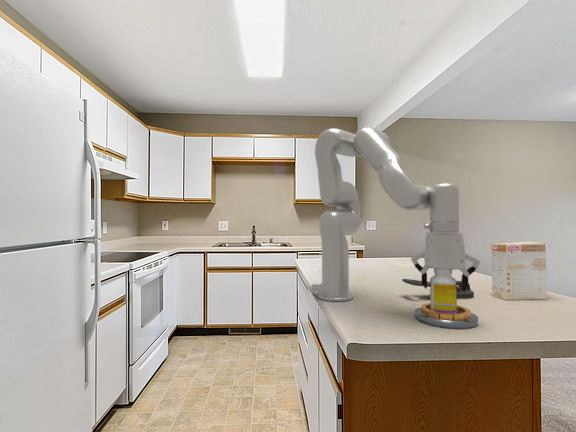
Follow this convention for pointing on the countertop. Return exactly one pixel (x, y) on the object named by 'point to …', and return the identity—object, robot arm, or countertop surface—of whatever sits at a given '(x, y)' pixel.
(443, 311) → the supplement bottle
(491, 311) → the countertop surface
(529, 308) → the countertop surface
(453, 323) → the rosette plate
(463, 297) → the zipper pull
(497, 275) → the coffeecake box
